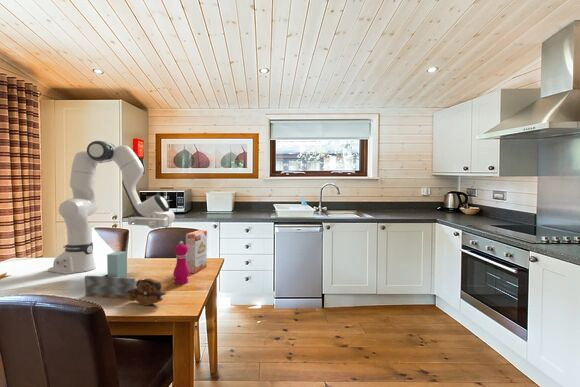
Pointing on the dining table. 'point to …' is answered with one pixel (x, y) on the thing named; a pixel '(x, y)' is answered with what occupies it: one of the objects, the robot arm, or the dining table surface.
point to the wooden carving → (146, 292)
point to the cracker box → (196, 250)
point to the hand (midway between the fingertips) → (139, 223)
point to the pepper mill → (181, 264)
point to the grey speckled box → (108, 286)
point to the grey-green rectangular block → (117, 264)
